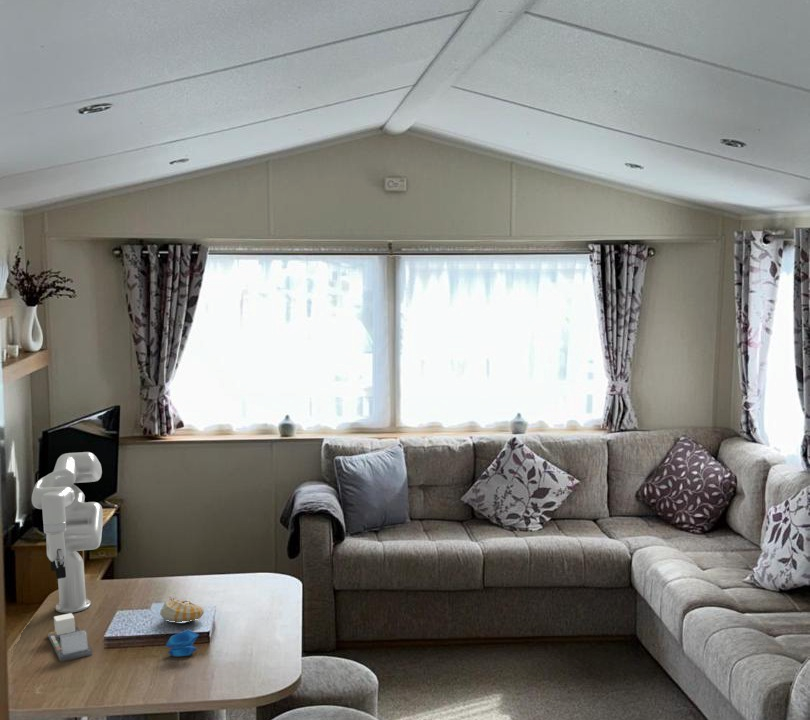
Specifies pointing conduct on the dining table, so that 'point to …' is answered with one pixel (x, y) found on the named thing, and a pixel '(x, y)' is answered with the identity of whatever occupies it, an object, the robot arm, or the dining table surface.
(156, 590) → the dining table surface
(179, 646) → the blue double-lobed piece
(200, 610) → the nautilus
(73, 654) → the gauge bench
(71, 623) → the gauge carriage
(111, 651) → the dining table surface
